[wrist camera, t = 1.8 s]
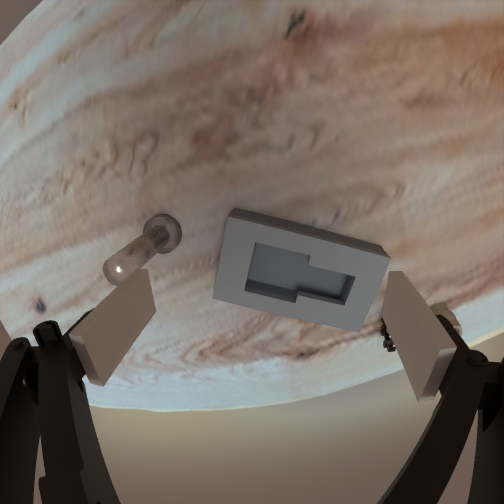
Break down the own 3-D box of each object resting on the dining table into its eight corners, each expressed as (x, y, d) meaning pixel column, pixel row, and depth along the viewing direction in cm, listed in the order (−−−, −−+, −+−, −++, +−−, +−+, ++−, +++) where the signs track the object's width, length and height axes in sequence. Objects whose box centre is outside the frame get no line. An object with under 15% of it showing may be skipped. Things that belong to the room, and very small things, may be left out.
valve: (451, 293, 38) (384, 298, 40) (469, 314, 32) (397, 323, 34) (442, 327, 40) (378, 334, 42) (457, 351, 34) (388, 361, 36)
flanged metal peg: (141, 227, 40) (86, 264, 28) (166, 206, 38) (114, 238, 26) (162, 256, 41) (116, 302, 29) (188, 237, 40) (146, 281, 27)
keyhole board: (219, 282, 42) (212, 298, 38) (234, 208, 37) (227, 216, 33) (353, 314, 41) (358, 331, 37) (380, 245, 37) (390, 258, 33)
